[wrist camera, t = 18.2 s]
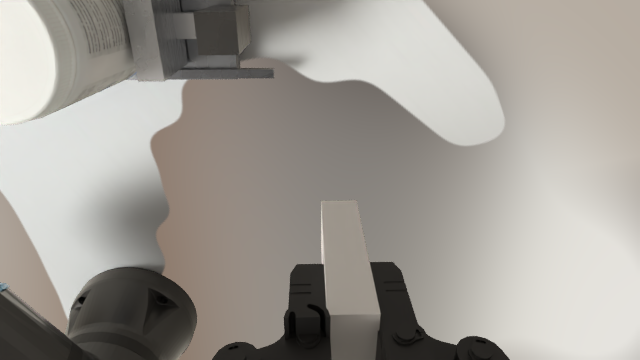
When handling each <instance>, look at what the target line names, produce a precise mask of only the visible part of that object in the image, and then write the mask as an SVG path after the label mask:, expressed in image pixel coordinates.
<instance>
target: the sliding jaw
mask: <svg viewBox="0 0 640 360" xmlns="http://www.w3.org/2000/svg"><path fill="white" fill-rule="evenodd" d="M122 1H123V6H124V11H125V16H126V22H127V27H128V32H129V37H130V42H131V47H132V52H133V57H134V62H135V67H136V73H137V78H138V81H165V80H167V79H168V78H169V77H171V76H172V75H174V74H175V73H176V72H178V71H179V70H180V69H182V68H183V67H184V66H186V65H187V64H188V59H187V52H186V45H185V39H197V47H198V55H240V54H241V53H242V51H243V50H244V49H245V48H246V47H247V46H248V45H249V43H250V42H251V34H250V20H249V6H248V5H213V6H210V7H207V8H203V9H200V10H197V11H194V12H181V9H180V2H179V0H122Z"/></svg>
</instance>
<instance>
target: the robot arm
mask: <svg viewBox="0 0 640 360" xmlns="http://www.w3.org/2000/svg"><path fill="white" fill-rule="evenodd" d="M321 259H322V264H298V265H296V266H295V268H294V269H293V271H292V272H291V275H290V292H289V308H288V310H287V311H286V313H285V316H284V329H285V333H284V335H283V336H282V337H281V339H280V340H278V341H277V342H275V343H274V344H272V345H269V346H266V347H263V348H260V349H256V348H255V347H254V346H253V345H251V344H249V343H246V342H235V343H231V344H228V345H226V346H224V347H223V348H221V349H220V350H219V351H218V352H217V353H216V355H215V356H214V357H213V359H212V360H510V359H509V358H508V357H507V356H506V355H505V354H504V352H503V351H502V350H501V349H500V348H499V347H498V346H497V345H496V344H495V343H493V342H491V341H489V340H488V339H486V338H482V337H478V336H469V337H466V338H463V339H461V340H460V341H459V343H458V344H457V345H454V344H450V343H446V342H441V341H439V340H436V339H433V338H432V337H430V336H428V335H427V334H426V333H425V331H424V329H423V328H422V327H420V326H419V325H418V323H417V320H416V317H415V314H414V311H413V308H412V304H411V301H410V298H409V295H408V292H407V288H406V285H405V283H404V279H403V275H402V272H401V270H400V269H399V268H398V267H397V266H396V265H395V264H394V263H393V262H370V261H369V257H368V252H367V248H366V242H365V238H364V233H363V228H362V224H361V219H360V215H359V210H358V205H357V200H340V201H339V200H338V201H321ZM8 287H9V286H8V285H7V284H6V283H1V282H0V360H178V359H179V358H180V356H181V355H182V354H183V353H184V351H185V350H186V349H187V347H188V346H189V344H190V342H191V339H192V337H193V334H194V331H195V327H196V323H197V314H196V309H195V306H194V304H193V302H192V300H191V299H190V297H189V296H188V294H187V293H186V292H185V291H184V290H183V289H182V288H181V287H180V286H178V285H177V284H176V283H175V282H173V281H172V280H170V279H168V278H166V277H164V276H162V275H160V274H158V273H155V272H152V271H148V270H143V269H137V268H119V269H112V270H108V271H105V272H103V273H100V274H98V275H96V276H95V277H93V278H92V279H91V280H89V281H88V282H87V283H86V285H85V286H84V287H83V289H82V290H81V291H80V293H79V294H78V296H77V297H76V299H75V300H74V302H73V305H72V307H71V311H70V315H69V320H68V324H67V329H66V333H65V334H63V333H62V332H61V331H60V330H58V329H57V328H56V327H55V326H53V325H52V324H51V323H50V322H48V321H47V320H46V319H45V318H43V317H42V316H41V315H40V314H39V313H37V312H36V311H35V310H34V309H33V308H32V307H30V306H29V305H28V304H27V303H26V302H24V301H23V300H22V299H21V298H20V297H18V296H17V295H16V294H15V293H14V292H12V291H11V290H10V289H9V288H8Z"/></svg>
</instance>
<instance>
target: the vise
mask: <svg viewBox="0 0 640 360" xmlns="http://www.w3.org/2000/svg"><path fill="white" fill-rule="evenodd" d="M179 2H180V9H181V12H194V11H197V10H200V9H203V8H207V7H210V6H213V5H235V1H234V0H179ZM185 45H186V52H187V59H188V64H187V65H186V66H184V67H183V68H182V69H180V70H179V71H178V72H176V73H175V74H174V75H172V76H171V77H169V78H168V79H238V78H274V76H275V75H274V68H240V60H239V55H198V47H197V39H185ZM126 80H138V78H137V74H136V75H134V76H132V77H130V78H128V79H126Z"/></svg>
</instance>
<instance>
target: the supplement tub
mask: <svg viewBox="0 0 640 360" xmlns="http://www.w3.org/2000/svg"><path fill="white" fill-rule="evenodd" d="M136 74H137V73H136V67H135V62H134V57H133V52H132V47H131V42H130V37H129V32H128V27H127V22H126V16H125V11H124V6H123V1H122V0H0V125H14V124H20V123H23V122H27V121H30V120H35V119H39V118H42V117H45V116H47V115H49V114H51V113H53V112H56V111H58V110H60V109H62V108H65V107H67V106H69V105H71V104H73V103H76V102H78V101H80V100H82V99H84V98H86V97H89V96H91V95H93V94H95V93H97V92H100V91H102V90H104V89H106V88H108V87H110V86H113V85H115V84H117V83H119V82H121V81H124V80H126V79H128V78H130V77H132V76H134V75H136Z"/></svg>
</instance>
